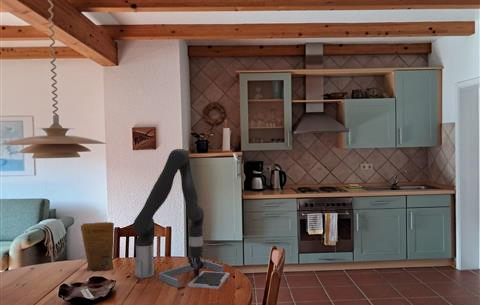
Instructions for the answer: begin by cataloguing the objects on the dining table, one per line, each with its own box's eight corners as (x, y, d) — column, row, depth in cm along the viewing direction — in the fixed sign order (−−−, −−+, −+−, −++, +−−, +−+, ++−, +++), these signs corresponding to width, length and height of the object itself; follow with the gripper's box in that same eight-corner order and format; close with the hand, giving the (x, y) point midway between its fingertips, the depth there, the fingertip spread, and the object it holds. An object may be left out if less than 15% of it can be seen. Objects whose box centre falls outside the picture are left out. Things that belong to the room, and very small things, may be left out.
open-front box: (176, 287, 193) (176, 280, 193) (158, 279, 205) (158, 273, 205) (223, 272, 215) (223, 265, 215) (204, 265, 227) (204, 259, 227)
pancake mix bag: (112, 272, 220) (111, 223, 219) (81, 271, 222) (79, 223, 221) (117, 268, 226) (116, 220, 226) (87, 267, 228) (85, 220, 228)
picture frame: (218, 290, 190) (229, 276, 210) (218, 284, 190) (229, 271, 210) (188, 288, 194) (202, 274, 214) (188, 282, 194) (202, 269, 214)
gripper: (183, 243, 209) (183, 274, 209) (198, 247, 199) (198, 280, 200) (194, 240, 214) (194, 271, 214) (209, 244, 205) (209, 277, 205)
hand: (196, 276), depth 207 cm, fingers closed
